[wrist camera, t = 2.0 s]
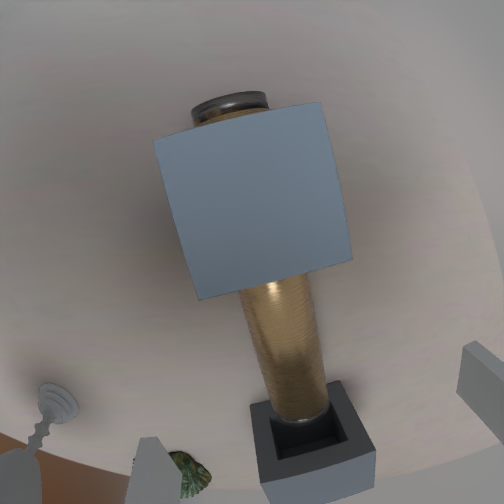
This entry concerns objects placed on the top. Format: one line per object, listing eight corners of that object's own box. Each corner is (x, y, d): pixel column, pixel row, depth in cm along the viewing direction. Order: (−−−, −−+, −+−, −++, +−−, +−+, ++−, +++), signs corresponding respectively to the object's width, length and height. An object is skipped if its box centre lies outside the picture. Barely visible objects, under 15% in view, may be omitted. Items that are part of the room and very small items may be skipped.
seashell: (119, 498, 27) (144, 464, 25) (122, 474, 31) (146, 436, 29) (194, 517, 29) (231, 486, 28) (193, 493, 33) (227, 459, 32)
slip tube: (194, 118, 19) (186, 105, 15) (260, 102, 19) (270, 86, 15) (270, 397, 25) (278, 433, 21) (321, 383, 25) (336, 416, 21)
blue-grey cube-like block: (179, 151, 22) (152, 140, 13) (284, 125, 22) (320, 101, 14) (207, 254, 24) (198, 300, 16) (308, 227, 24) (352, 259, 16)
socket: (249, 405, 28) (260, 483, 19) (339, 380, 28) (376, 450, 19) (264, 444, 30) (276, 515, 21) (343, 422, 30) (373, 487, 21)
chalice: (63, 371, 26) (-16, 507, 9) (98, 420, 28) (50, 556, 10) (21, 381, 26) (-54, 492, 9) (54, 426, 28) (1, 539, 10)
